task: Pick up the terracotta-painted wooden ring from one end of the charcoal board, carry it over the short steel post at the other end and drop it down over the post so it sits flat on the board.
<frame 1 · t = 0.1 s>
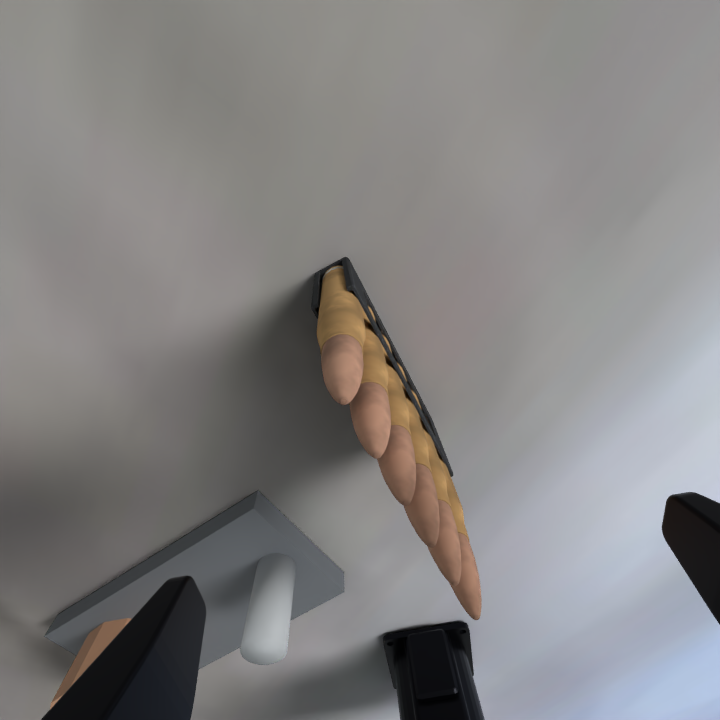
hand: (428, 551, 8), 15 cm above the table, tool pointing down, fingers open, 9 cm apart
ring: (134, 648, 28), point 1 cm above the table, touching board
ammunition clip: (378, 352, 22), on the table
board: (211, 587, 28), on the table
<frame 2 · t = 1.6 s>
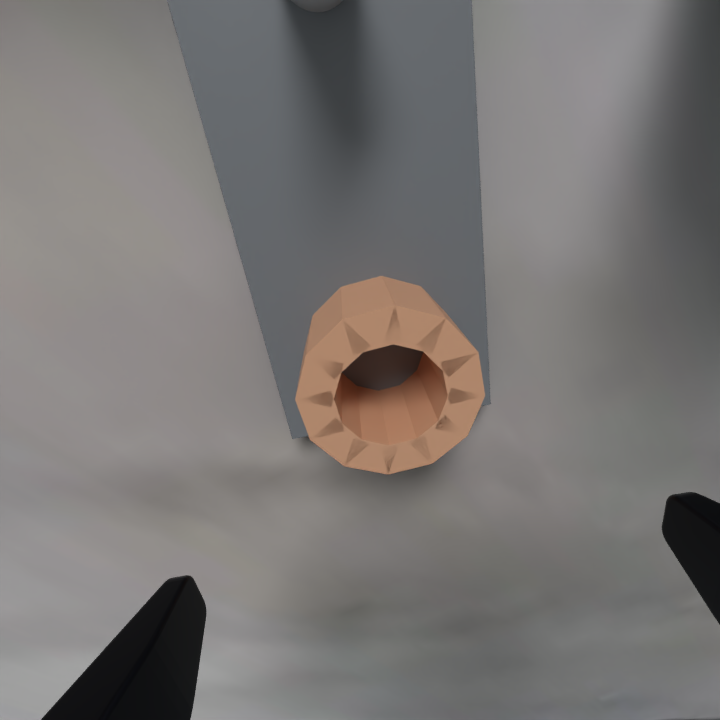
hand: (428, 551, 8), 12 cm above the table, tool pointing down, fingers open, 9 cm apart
ring: (379, 350, 17), point 1 cm above the table, touching board
board: (350, 181, 16), on the table
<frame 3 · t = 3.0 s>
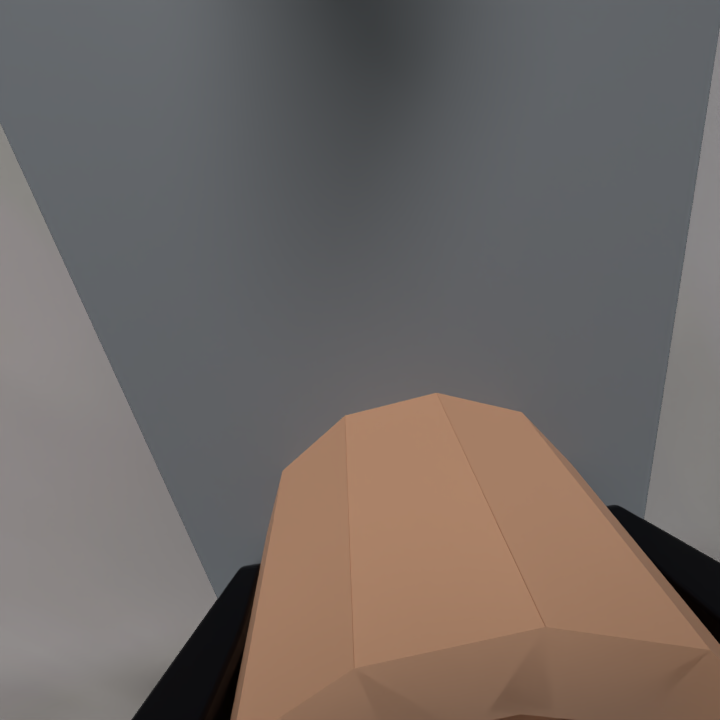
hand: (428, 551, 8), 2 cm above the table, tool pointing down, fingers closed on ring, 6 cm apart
ring: (423, 529, 8), point 1 cm above the table, touching board, gripper
board: (366, 179, 7), on the table
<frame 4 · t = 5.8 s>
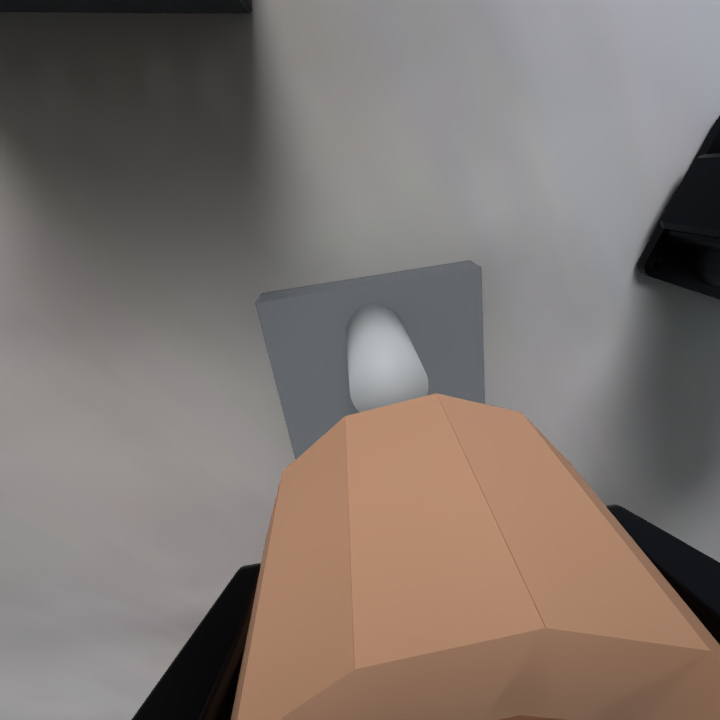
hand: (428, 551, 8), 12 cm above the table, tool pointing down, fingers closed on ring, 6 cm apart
ring: (423, 530, 8), point 11 cm above the table, touching gripper
board: (387, 432, 21), on the table
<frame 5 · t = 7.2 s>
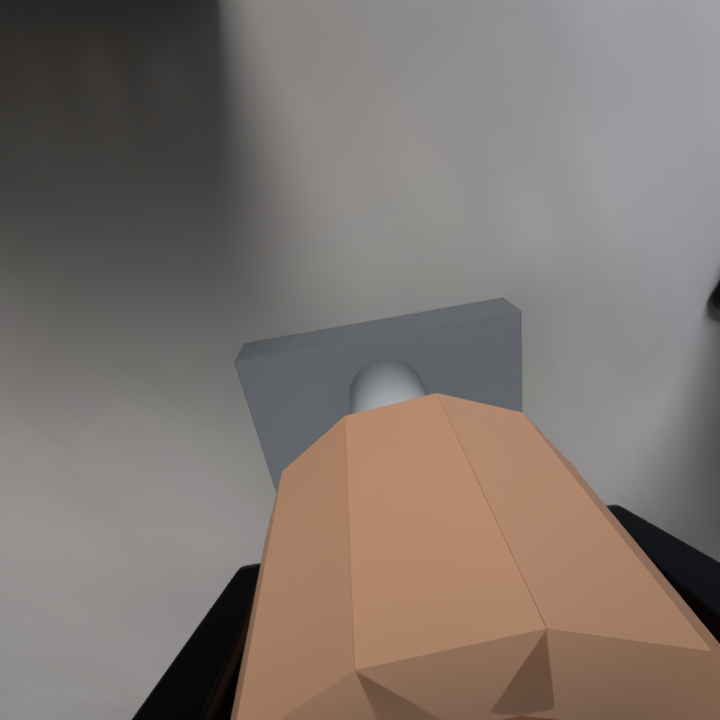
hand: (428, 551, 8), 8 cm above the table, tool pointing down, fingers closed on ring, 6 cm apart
ring: (423, 530, 8), point 7 cm above the table, touching gripper
board: (401, 499, 17), on the table
when the fingers open (4 cm above the table, at t = 8.6 s): ring drops 2 cm, resting on board.
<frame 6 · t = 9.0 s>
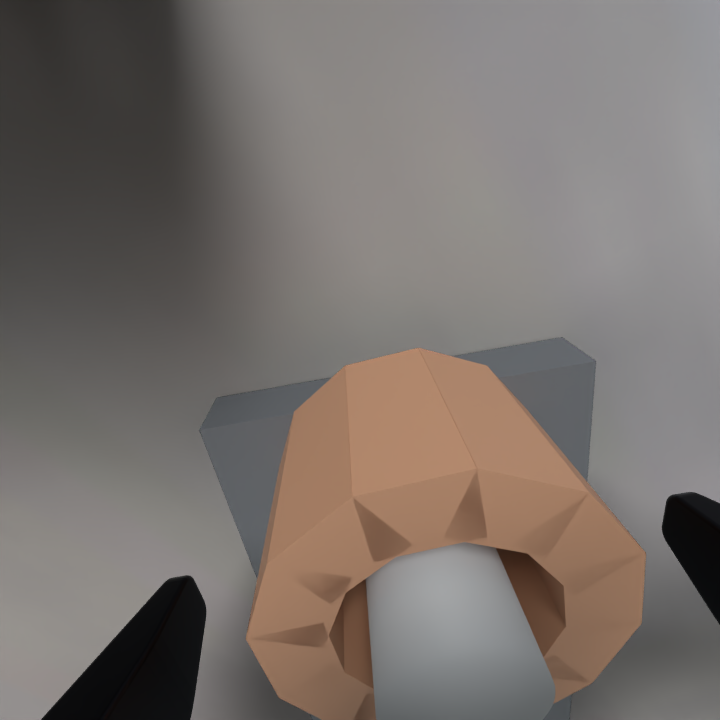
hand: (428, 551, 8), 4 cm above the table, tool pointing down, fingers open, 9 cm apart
ring: (407, 466, 10), point 1 cm above the table, touching board
board: (421, 580, 14), on the table
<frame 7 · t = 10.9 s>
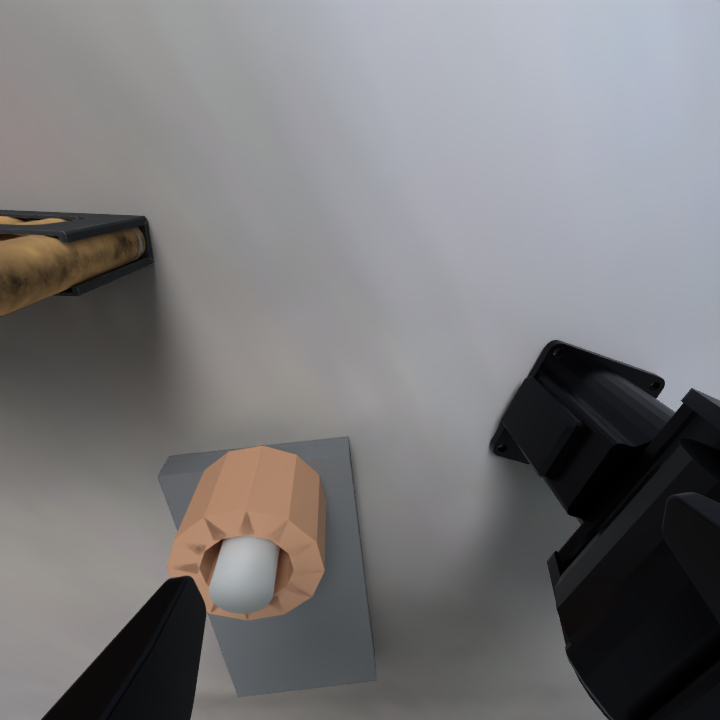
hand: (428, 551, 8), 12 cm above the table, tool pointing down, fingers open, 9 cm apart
ring: (262, 498, 20), point 1 cm above the table, touching board
ammunition clip: (12, 234, 16), on the table
board: (285, 559, 24), on the table
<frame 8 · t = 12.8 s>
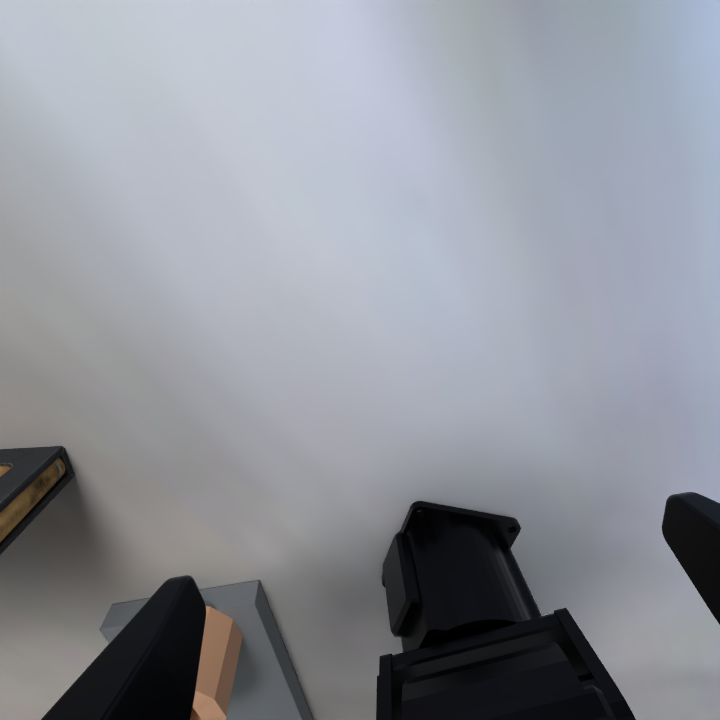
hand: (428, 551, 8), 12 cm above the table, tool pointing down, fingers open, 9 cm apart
ring: (189, 638, 24), point 1 cm above the table, touching board
board: (225, 671, 28), on the table
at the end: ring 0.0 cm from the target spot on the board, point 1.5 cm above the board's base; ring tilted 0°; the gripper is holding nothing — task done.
